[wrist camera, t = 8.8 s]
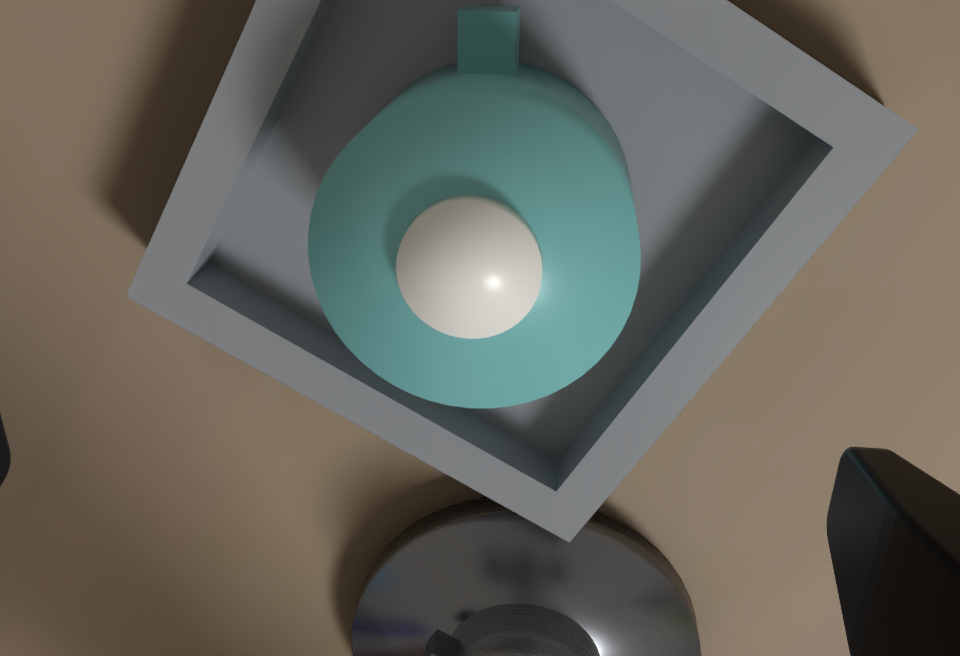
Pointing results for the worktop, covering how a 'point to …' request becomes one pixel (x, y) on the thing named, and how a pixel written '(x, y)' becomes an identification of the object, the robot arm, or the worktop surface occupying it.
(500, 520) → the round metal saucer
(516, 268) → the teal rounded toy
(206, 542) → the worktop surface
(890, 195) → the worktop surface
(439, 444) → the tray
